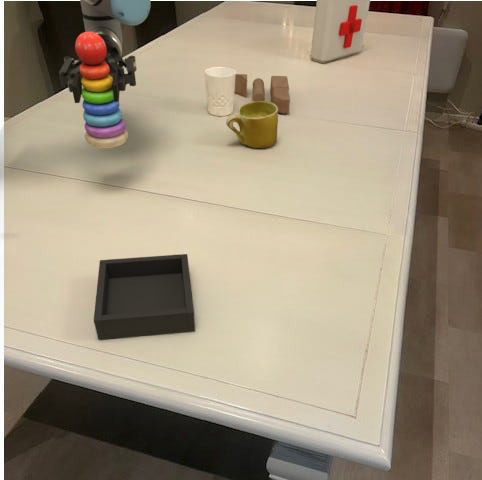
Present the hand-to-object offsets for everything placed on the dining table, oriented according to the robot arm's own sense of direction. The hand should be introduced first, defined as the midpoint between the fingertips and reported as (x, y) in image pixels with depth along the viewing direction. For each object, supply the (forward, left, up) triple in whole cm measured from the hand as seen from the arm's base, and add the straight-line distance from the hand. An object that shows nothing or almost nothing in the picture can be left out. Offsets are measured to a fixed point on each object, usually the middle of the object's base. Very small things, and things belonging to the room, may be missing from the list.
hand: (95, 94), depth 82 cm
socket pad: (+6, -32, -20) cm, 38 cm away
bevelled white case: (+72, +87, -20) cm, 115 cm away
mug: (+31, +22, -20) cm, 43 cm away
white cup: (+26, +42, -20) cm, 53 cm away
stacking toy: (0, +5, -11) cm, 12 cm away
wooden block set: (+37, +48, -20) cm, 64 cm away
